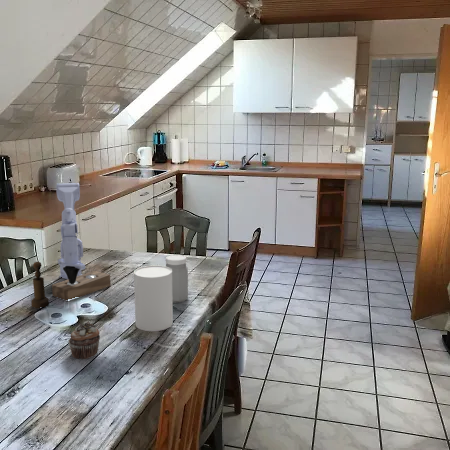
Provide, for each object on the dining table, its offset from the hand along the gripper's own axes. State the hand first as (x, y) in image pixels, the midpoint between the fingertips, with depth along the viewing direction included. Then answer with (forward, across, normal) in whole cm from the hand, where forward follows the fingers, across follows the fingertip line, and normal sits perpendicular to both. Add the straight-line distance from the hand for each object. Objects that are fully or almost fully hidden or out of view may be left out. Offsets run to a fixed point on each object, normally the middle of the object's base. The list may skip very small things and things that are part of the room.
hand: (72, 282), depth 208 cm
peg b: (+5, 0, +10) cm, 11 cm away
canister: (+5, +47, -2) cm, 47 cm away
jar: (+5, +39, +20) cm, 44 cm away
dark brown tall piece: (+5, -1, -16) cm, 16 cm away
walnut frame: (+5, 0, +5) cm, 7 cm away
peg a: (+5, 0, 0) cm, 5 cm away
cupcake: (+5, +44, -32) cm, 55 cm away
